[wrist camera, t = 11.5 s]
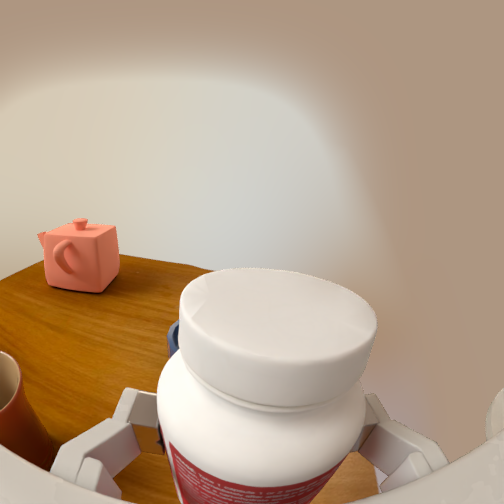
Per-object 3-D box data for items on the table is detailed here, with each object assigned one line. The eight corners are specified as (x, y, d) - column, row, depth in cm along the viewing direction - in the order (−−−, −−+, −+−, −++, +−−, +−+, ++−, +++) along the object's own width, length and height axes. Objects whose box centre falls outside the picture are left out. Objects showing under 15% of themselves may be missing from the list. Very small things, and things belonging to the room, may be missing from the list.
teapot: (127, 267, 64) (127, 212, 60) (93, 307, 43) (87, 232, 39) (64, 260, 61) (61, 209, 57) (19, 293, 40) (9, 227, 36)
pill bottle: (326, 505, 8) (447, 325, 5) (212, 557, 5) (213, 457, 2) (261, 433, 13) (299, 253, 10) (160, 462, 10) (130, 262, 7)
